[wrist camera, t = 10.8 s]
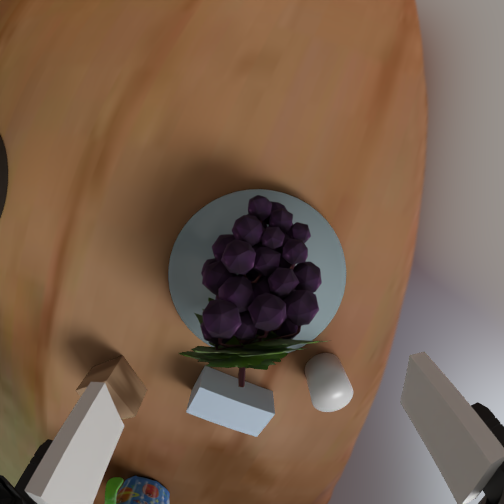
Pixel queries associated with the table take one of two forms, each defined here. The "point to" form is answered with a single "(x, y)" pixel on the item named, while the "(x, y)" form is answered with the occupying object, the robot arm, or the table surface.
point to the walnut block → (118, 385)
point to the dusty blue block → (231, 402)
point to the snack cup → (135, 491)
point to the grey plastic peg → (328, 382)
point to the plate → (200, 249)
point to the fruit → (257, 290)
